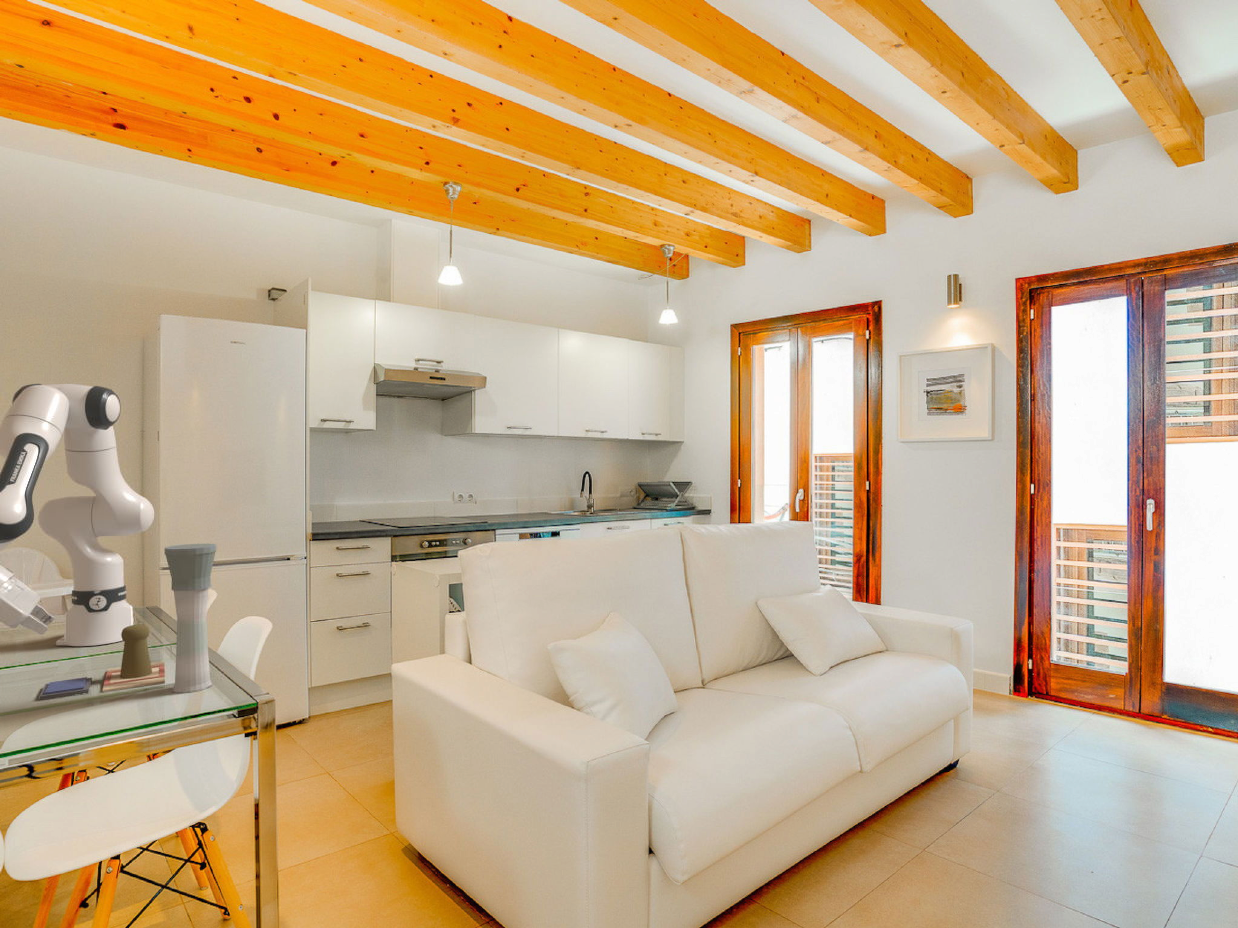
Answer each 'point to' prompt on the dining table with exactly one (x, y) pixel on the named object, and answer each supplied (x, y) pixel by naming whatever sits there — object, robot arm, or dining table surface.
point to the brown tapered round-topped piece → (135, 652)
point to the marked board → (118, 683)
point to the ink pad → (65, 688)
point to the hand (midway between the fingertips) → (48, 626)
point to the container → (191, 613)
